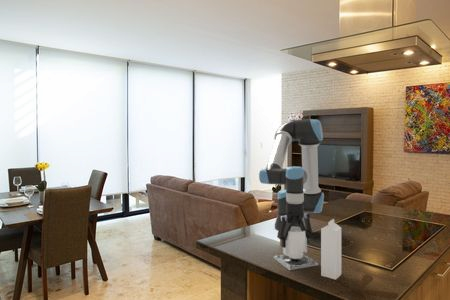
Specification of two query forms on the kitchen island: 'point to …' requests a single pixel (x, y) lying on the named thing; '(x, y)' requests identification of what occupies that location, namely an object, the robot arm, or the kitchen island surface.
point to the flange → (295, 262)
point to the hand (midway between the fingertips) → (295, 252)
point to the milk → (331, 250)
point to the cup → (296, 242)
